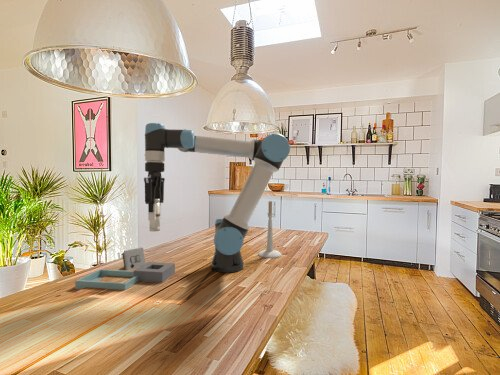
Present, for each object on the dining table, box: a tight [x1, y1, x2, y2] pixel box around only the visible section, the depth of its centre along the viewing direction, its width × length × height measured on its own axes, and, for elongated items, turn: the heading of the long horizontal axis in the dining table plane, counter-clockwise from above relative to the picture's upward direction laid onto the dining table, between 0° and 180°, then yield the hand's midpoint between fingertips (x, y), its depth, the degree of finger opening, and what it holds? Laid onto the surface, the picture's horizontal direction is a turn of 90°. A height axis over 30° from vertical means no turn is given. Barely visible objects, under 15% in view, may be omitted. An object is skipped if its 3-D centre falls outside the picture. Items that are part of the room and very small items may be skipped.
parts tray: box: [74, 268, 139, 291], centre depth 111 cm, size 20×14×3 cm
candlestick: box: [257, 200, 282, 259], centre depth 156 cm, size 13×13×30 cm
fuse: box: [148, 199, 161, 232], centre depth 117 cm, size 4×4×13 cm
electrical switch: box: [121, 247, 147, 271], centre depth 131 cm, size 9×5×9 cm, turn 141°
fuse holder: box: [133, 261, 176, 284], centre depth 117 cm, size 12×12×5 cm
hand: (154, 219), depth 117 cm, fingers closed on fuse, 4 cm apart
